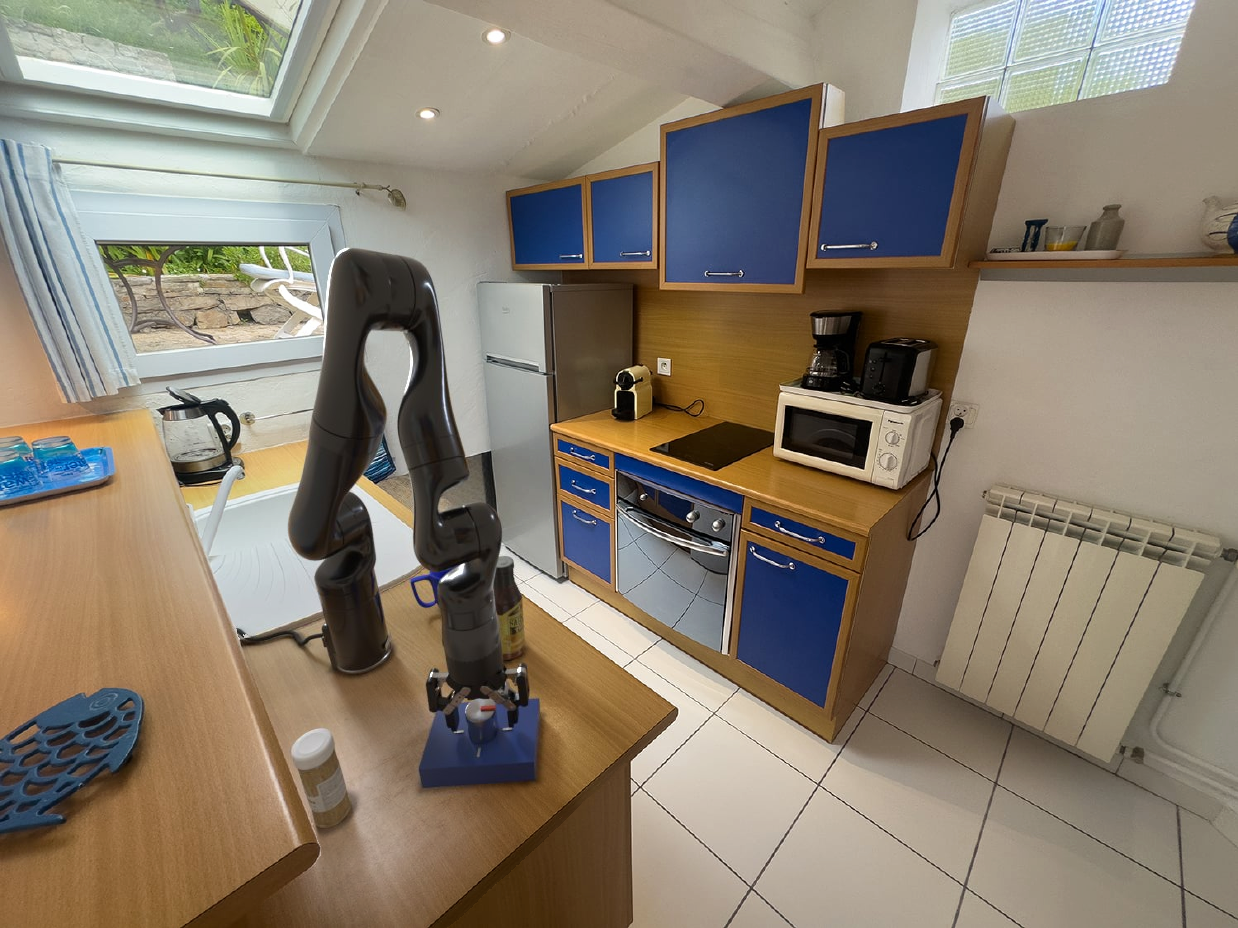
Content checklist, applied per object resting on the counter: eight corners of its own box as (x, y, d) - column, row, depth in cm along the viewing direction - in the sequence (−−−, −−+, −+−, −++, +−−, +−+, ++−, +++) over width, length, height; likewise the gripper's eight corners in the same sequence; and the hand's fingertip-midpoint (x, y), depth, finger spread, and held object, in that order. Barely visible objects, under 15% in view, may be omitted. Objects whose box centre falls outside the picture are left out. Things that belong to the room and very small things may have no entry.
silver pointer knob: (465, 744, 72) (461, 721, 70) (471, 718, 76) (468, 695, 74) (495, 742, 72) (493, 719, 71) (500, 717, 76) (497, 694, 75)
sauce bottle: (518, 664, 92) (510, 575, 84) (486, 659, 93) (476, 570, 85) (530, 640, 98) (524, 554, 90) (501, 635, 99) (492, 550, 91)
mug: (415, 604, 107) (408, 565, 103) (472, 590, 112) (467, 553, 108) (417, 628, 100) (410, 587, 96) (478, 613, 105) (473, 573, 101)
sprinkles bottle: (308, 813, 67) (284, 744, 62) (343, 788, 70) (323, 720, 65) (322, 837, 64) (298, 766, 59) (358, 810, 67) (338, 740, 62)
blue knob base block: (422, 788, 70) (417, 768, 68) (441, 721, 80) (438, 702, 79) (535, 780, 71) (533, 760, 70) (540, 715, 81) (539, 697, 80)
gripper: (527, 618, 72) (533, 701, 78) (426, 623, 70) (441, 706, 77) (522, 656, 65) (529, 744, 71) (410, 662, 64) (428, 751, 70)
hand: (483, 724), depth 74 cm, fingers open, 8 cm apart
